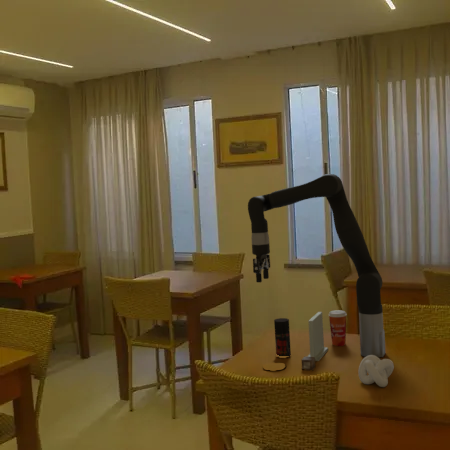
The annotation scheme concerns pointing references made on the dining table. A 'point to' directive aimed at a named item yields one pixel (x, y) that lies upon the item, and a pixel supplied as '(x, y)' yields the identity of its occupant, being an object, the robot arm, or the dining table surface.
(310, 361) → the letter cube
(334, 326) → the paper cup
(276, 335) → the deodorant
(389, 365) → the white knot sculpture
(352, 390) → the dining table surface
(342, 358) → the dining table surface
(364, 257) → the robot arm
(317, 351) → the screen
